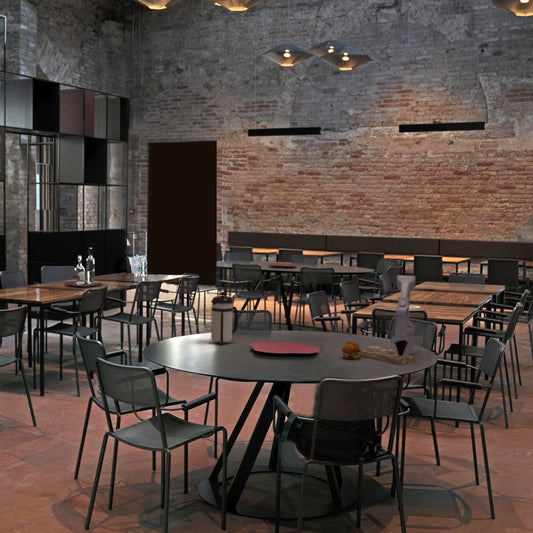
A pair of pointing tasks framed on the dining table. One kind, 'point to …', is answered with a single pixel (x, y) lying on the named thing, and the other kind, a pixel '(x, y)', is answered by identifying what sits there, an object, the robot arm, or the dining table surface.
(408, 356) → the three dot tile
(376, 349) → the one dot tile
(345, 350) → the cheeseburger
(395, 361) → the tile board
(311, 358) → the dining table surface
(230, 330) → the coffee press
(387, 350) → the two dot tile
